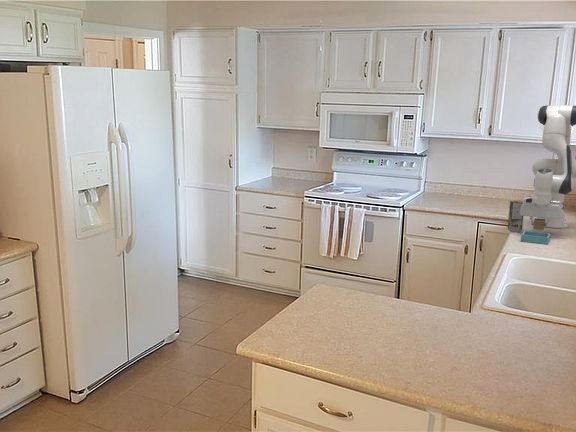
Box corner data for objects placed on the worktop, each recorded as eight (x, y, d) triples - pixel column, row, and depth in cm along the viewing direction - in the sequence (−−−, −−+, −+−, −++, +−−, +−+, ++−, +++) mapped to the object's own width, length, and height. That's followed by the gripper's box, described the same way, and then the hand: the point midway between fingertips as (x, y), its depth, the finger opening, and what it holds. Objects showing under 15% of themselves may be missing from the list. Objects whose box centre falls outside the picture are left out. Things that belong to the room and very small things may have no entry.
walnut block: (534, 227, 306) (535, 218, 305) (544, 228, 304) (545, 219, 303) (533, 229, 302) (534, 219, 301) (543, 230, 299) (544, 220, 298)
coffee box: (522, 232, 312) (525, 203, 309) (509, 231, 313) (512, 202, 310) (519, 229, 321) (521, 201, 318) (507, 228, 322) (509, 200, 319)
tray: (523, 237, 300) (524, 230, 299) (549, 240, 294) (550, 233, 293) (520, 241, 289) (521, 234, 289) (547, 244, 283) (548, 237, 283)
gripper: (564, 200, 297) (561, 226, 300) (522, 197, 307) (519, 222, 310) (563, 202, 292) (560, 228, 295) (520, 199, 302) (518, 224, 305)
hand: (539, 225), depth 302 cm, fingers closed on walnut block, 5 cm apart
